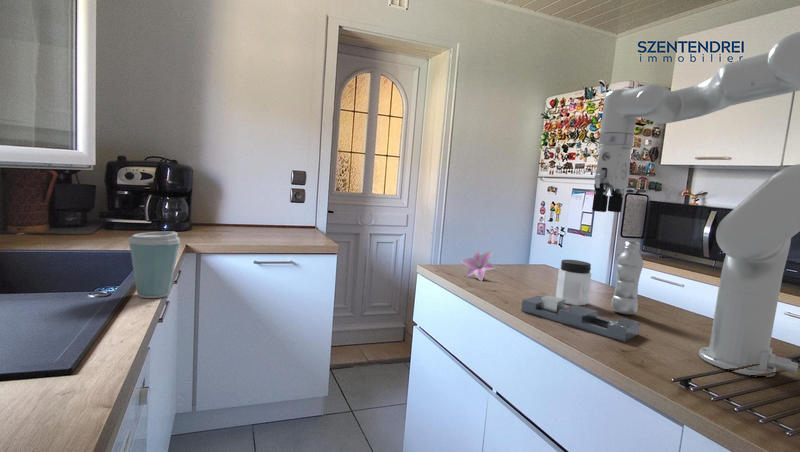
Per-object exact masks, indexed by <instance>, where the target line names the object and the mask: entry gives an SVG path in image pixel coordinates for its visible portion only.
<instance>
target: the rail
mask: <svg viewBox="0 0 800 452" xmlns="http://www.w3.org/2000/svg"><path fill="white" fill-rule="evenodd" d="M541 297H544V296H543V295H536V296H532V297H528V298H524V299H522V301H521V310H520V311H521V312H524V313H527V314H531V315H534V316H538V317H541V318H544V319H547V320H551V321H553V322H557V323H561V324H563V325H567V326H570V327H574V328H578V329H581V330H583V331H587V332H589V333H594V334H596V335H600V336H604V337H607V338H611V339H614V340H617V341H620V342H624V343H625V342H627V341H630V340H631V339H633V338H635V337H636V336H638V335H639V330H640V321H636V320H633V319H628V318H625V317H620V318H618V319H616V320H614V321H613V320H610V319H606V318H602V317H598V310H595V309H591V308H588V307H583V306H582V305H580V306H577V305H570V306H565V308H563V309H560V310H558V314H556V313H552V312H549V311H545V310H542V309H540V305H541Z"/></svg>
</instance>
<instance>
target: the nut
mask: <svg viewBox="0 0 800 452" xmlns="http://www.w3.org/2000/svg"><path fill="white" fill-rule="evenodd" d="M565 301H566V299H562V298H558V297H556V296H554V295H551V294H550V295H545V296H543V297H541V305H540V309H542V310H545V311H549V312H552V313H556V314H558V310H560V309H563V308H566V304H565Z"/></svg>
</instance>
